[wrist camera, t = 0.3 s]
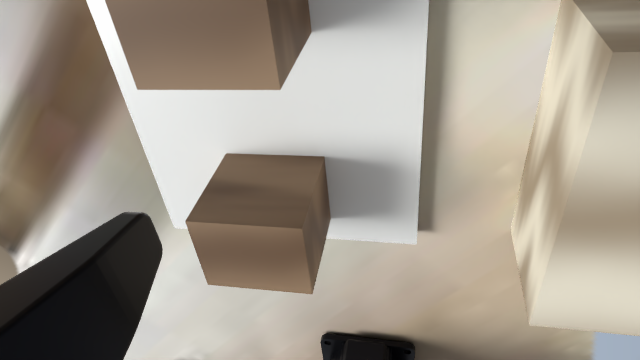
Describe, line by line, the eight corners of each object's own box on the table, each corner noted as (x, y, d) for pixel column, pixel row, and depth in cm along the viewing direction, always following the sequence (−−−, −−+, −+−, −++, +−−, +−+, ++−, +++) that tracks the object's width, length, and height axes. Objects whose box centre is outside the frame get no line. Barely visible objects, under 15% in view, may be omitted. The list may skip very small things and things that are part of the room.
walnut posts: (330, 218, 24) (312, 294, 21) (241, 213, 25) (208, 284, 22) (299, -82, 16) (258, -49, 12) (167, -72, 17) (90, -39, 13)
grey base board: (417, 231, 25) (416, 244, 24) (181, 216, 28) (174, 228, 27) (436, -150, 15) (436, -148, 14) (60, -113, 18) (44, -110, 17)
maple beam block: (605, 232, 23) (649, 337, 19) (510, 227, 24) (529, 325, 19) (703, -19, 16) (816, 49, 11) (562, -13, 17) (612, 52, 12)
